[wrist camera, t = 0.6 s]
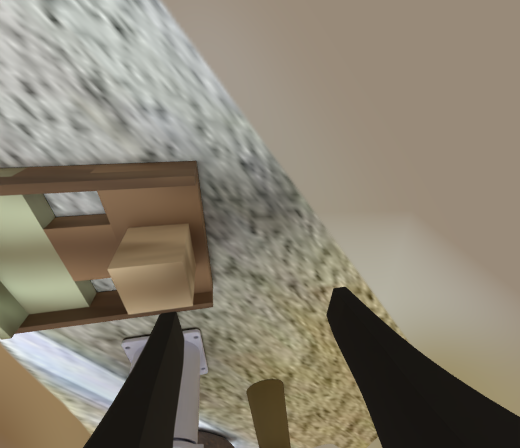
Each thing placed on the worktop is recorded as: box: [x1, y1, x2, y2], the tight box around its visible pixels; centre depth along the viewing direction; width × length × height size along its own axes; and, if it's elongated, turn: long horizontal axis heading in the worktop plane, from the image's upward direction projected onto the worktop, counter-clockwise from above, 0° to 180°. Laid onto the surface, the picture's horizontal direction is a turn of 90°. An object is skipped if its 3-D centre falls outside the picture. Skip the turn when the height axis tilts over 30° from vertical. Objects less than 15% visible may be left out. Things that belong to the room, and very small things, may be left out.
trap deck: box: [0, 161, 213, 339], centre depth 16 cm, size 12×15×4 cm
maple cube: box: [107, 224, 196, 315], centre depth 16 cm, size 4×4×4 cm
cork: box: [247, 379, 291, 448], centre depth 33 cm, size 6×6×11 cm
